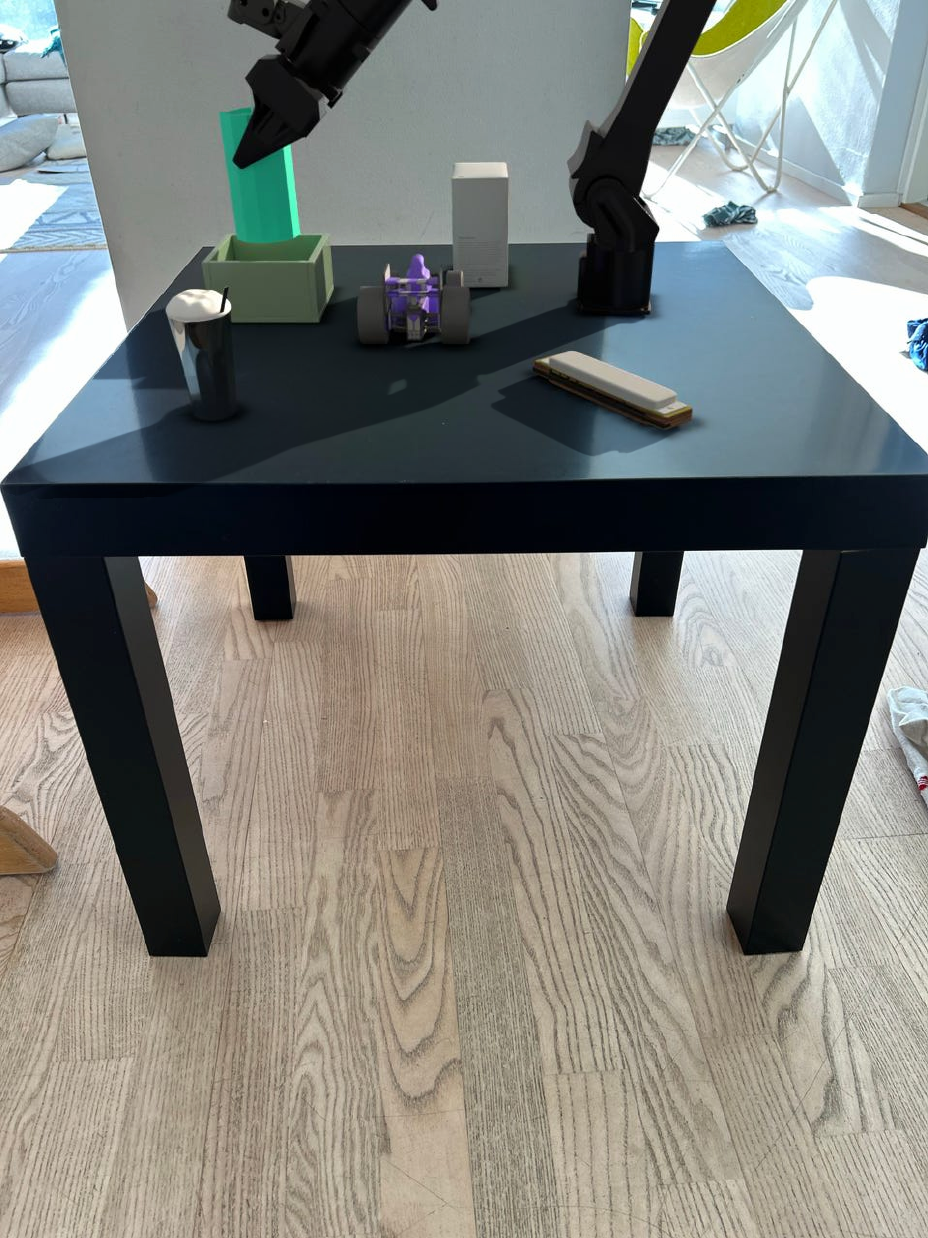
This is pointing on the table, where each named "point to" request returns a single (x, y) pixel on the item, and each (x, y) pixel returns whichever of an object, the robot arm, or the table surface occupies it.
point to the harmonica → (614, 389)
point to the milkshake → (205, 350)
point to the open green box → (272, 278)
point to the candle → (259, 186)
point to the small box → (480, 223)
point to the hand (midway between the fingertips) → (243, 158)
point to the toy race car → (415, 306)
